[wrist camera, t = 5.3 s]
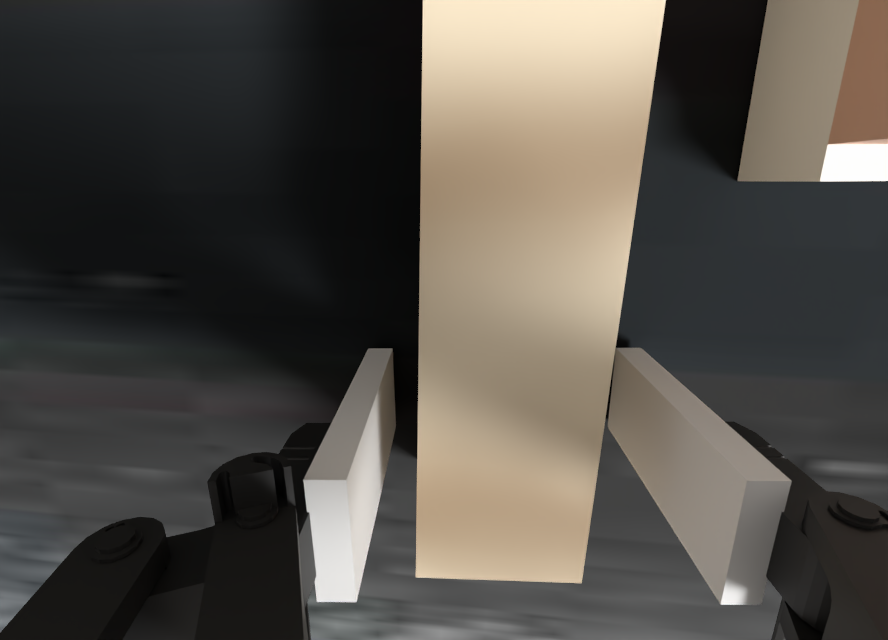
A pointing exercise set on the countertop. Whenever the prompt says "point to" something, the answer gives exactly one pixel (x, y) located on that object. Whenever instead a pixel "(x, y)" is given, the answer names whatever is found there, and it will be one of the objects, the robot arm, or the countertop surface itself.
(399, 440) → the countertop surface
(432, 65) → the bar
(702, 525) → the robot arm
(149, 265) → the countertop surface
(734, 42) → the countertop surface
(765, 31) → the block
